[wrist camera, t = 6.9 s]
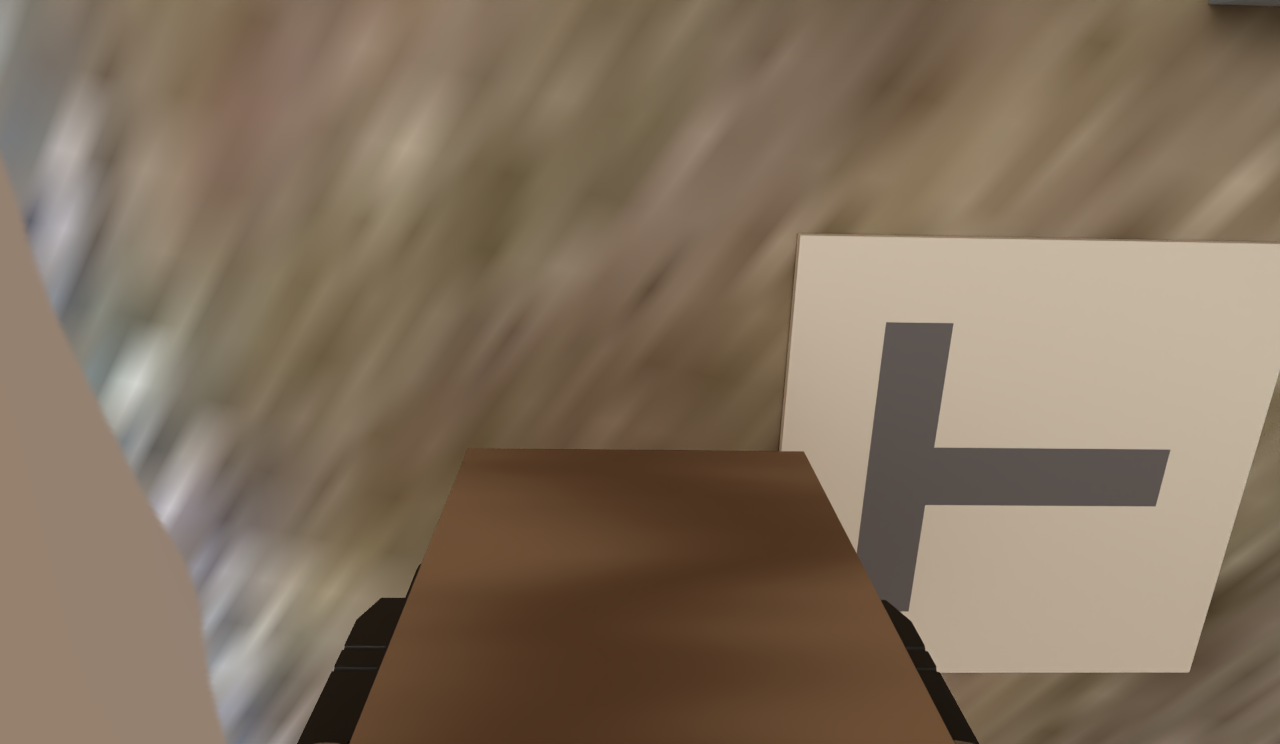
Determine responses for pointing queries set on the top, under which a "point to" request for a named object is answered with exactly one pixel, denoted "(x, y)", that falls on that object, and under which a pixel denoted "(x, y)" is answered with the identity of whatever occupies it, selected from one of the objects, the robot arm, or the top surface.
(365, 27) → the top surface
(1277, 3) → the slate cube
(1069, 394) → the board
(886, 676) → the walnut block
